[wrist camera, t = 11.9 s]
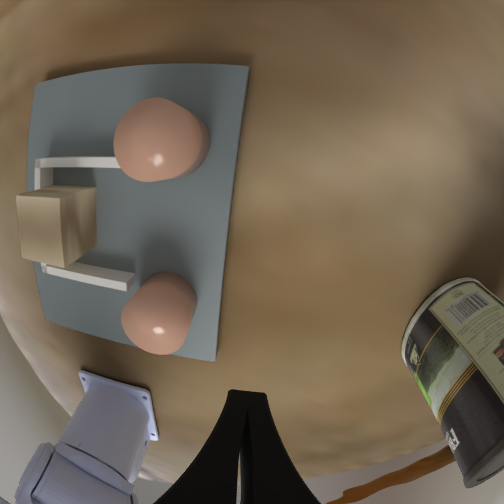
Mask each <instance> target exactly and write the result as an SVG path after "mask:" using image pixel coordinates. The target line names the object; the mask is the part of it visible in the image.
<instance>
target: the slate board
mask: <svg viewBox="0 0 504 504" xmlns="http://www.w3.org/2000/svg"><path fill="white" fill-rule="evenodd" d="M249 72H250V70H249V66H241V65H228V64H207V63H169V64H148V65H135V66H125V67H116V68H109V69H102V70H95V71H89V72H84V73H78V74H73V75H69V76H64V77H60V78H55V79H51V80H47V81H44V82H40V83H36V86H35V91H34V97H33V104H32V111H31V119H30V128H29V139H28V156H27V192H30V191H33V190H35V159H39V158H46V157H67V156H115V154H114V145H113V144H114V135H115V131H116V128H117V125H118V123H119V121H120V119H121V118H122V116H123V115H124V114H125V113H126V111H127V110H128V109H129V108H131V107H132V106H133V105H135V104H136V103H138V102H140V101H142V100H145V99H148V98H164V99H167V100H170V101H172V102H174V103H176V104H178V105H179V106H181V107H183V108H185V109H187V110H189V111H191V112H192V113H194V114H196V115H197V116H199V117H200V118H201V119H202V120H203V121H204V123H205V124H206V126H207V128H208V131H209V136H210V147H209V151H208V154H207V157H206V159H205V160H204V162H203V163H202V165H201V166H200V167H199V168H198V169H197V170H195V171H194V172H193V173H191V174H189V175H187V176H184V177H179V178H173V179H166V180H160V181H154V182H142V181H138V180H135V179H133V178H131V177H130V176H128V175H127V174H126V173H125V172H124V171H123V170H122V169H121V168H99V167H53V185H66V186H86V187H97V195H96V219H97V246H96V247H95V248H93V249H92V250H90V251H89V252H87V253H86V254H84V255H83V256H81V257H80V258H78V259H77V260H76V261H74V262H77V263H82V264H87V265H92V266H97V267H103V268H108V269H114V270H119V271H125V272H130V273H135V276H136V282H135V283H134V284H133V285H132V286H131V287H130V289H129V290H128V291H122V290H117V289H112V288H108V287H103V286H98V285H94V284H89V283H85V282H80V281H76V280H72V279H68V278H63V277H59V276H55V275H51V274H47V273H43V272H42V268H41V262H36V261H33V262H34V268H35V274H36V279H37V285H38V290H39V294H40V299H41V303H42V307H43V311H44V315H45V319H46V320H47V321H50V322H53V323H55V324H58V325H61V326H64V327H67V328H70V329H74V330H77V331H80V332H83V333H86V334H90V335H93V336H97V337H100V338H104V339H107V340H111V341H115V342H119V343H123V344H127V345H131V346H135V347H138V346H137V345H135V344H134V343H133V342H132V341H131V340H130V339H129V338H128V336H127V335H126V333H125V332H124V329H123V327H122V323H121V313H122V310H123V308H124V306H125V305H126V304H127V302H128V301H129V300H130V299H131V297H132V296H133V295H134V294H135V292H136V291H137V290H138V289H139V287H140V286H141V285H142V284H143V283H144V281H145V280H146V279H147V278H148V277H149V276H151V275H152V274H154V273H157V272H171V273H175V274H177V275H179V276H181V277H183V278H184V279H185V280H187V281H188V282H189V283H190V285H191V286H192V287H193V289H194V291H195V293H196V296H197V309H196V312H195V314H194V317H193V319H192V322H191V325H190V327H189V330H188V333H187V335H186V338H185V341H184V343H183V345H182V346H181V347H180V348H179V349H178V350H177V351H175V352H173V353H170V354H171V355H177V356H182V357H187V358H193V359H199V360H205V361H211V362H215V360H216V355H217V346H218V334H219V322H220V311H221V301H222V290H223V280H224V270H225V260H226V251H227V241H228V232H229V223H230V215H231V206H232V197H233V189H234V181H235V173H236V165H237V157H238V149H239V142H240V134H241V127H242V120H243V113H244V106H245V99H246V92H247V85H248V78H249Z"/></svg>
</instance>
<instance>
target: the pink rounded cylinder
mask: <svg viewBox="0 0 504 504" xmlns="http://www.w3.org/2000/svg"><path fill="white" fill-rule="evenodd" d="M196 309H197V296H196V293H195V291H194V289H193V287H192V286H191V285H190V283H189V282H188V281H187V280H185V279H184V278H183V277H181V276H179V275H177V274H175V273H171V272H157V273H154V274H152V275H151V276H149V277H148V278H147V279H146V280H145V281H144V283H143V284H142V285H141V286H140V287H139V289H138V290H137V291H136V292H135V294H134V295H133V296H132V297H131V299H130V300H129V301H128V302H127V304H126V305H125V306H124V308H123V310H122V313H121V323H122V327H123V329H124V332H125V333H126V335H127V336H128V338H129V339H130V340H131V341H132V342H133V343H134V344H135V345H137V346H138V347H139V348H141V349H143V350H145V351H147V352H150V353H153V354H159V355H165V354H170V353H173V352H175V351H177V350H178V349H179V348H180V347H181V346H182V345H183V343H184V341H185V338H186V335H187V333H188V330H189V327H190V325H191V322H192V319H193V317H194V314H195V312H196Z"/></svg>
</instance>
